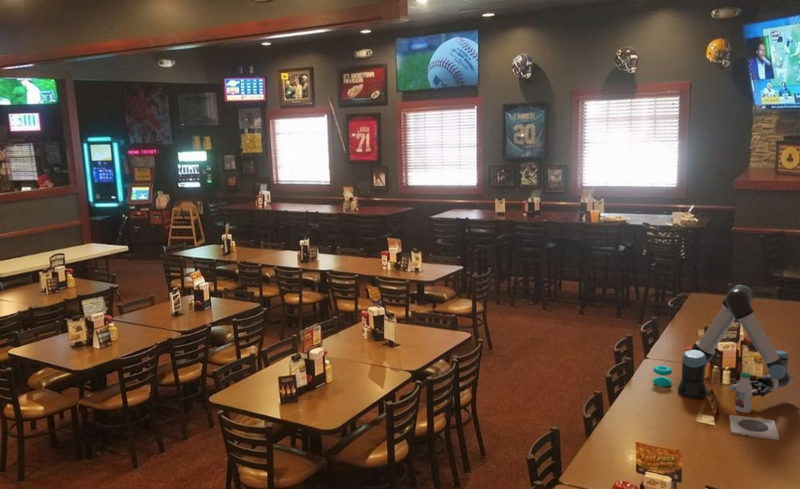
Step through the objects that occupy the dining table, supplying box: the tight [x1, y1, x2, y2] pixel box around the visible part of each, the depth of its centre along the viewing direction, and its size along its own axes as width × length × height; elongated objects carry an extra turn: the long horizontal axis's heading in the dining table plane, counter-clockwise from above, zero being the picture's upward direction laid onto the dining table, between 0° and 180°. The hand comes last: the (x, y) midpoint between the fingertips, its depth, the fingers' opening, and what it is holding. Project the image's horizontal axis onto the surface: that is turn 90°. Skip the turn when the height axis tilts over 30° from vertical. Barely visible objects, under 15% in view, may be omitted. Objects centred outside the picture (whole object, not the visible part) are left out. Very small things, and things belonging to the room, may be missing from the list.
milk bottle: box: [734, 371, 753, 414], centre depth 341 cm, size 8×8×20 cm
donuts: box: [652, 365, 673, 388], centre depth 379 cm, size 10×10×10 cm
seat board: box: [728, 414, 780, 441], centre depth 322 cm, size 20×20×1 cm
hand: (738, 391), depth 339 cm, fingers open, 9 cm apart
